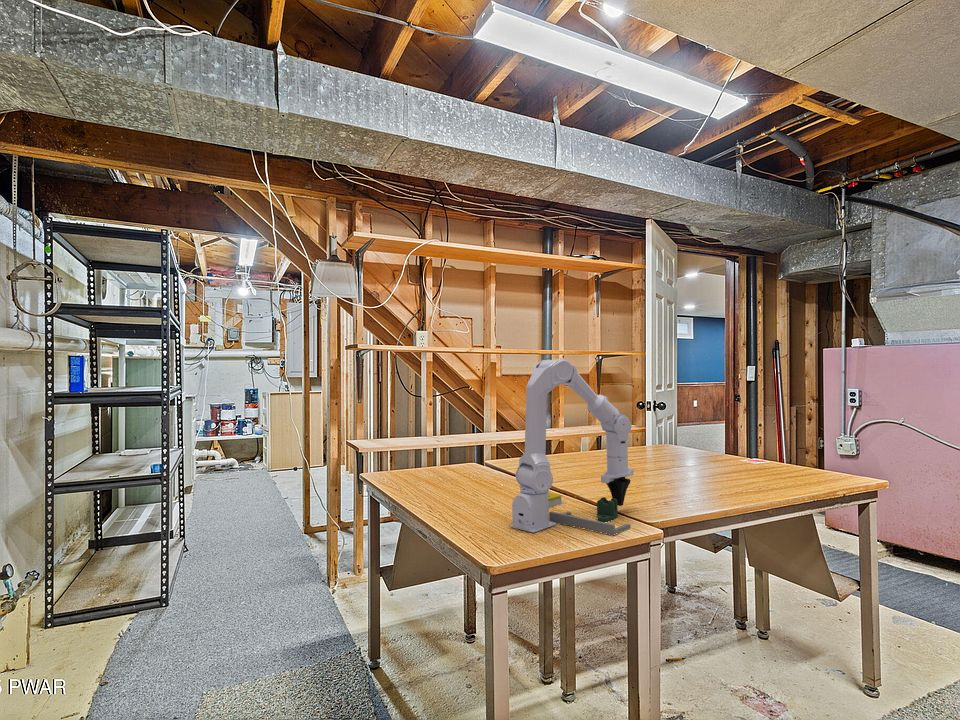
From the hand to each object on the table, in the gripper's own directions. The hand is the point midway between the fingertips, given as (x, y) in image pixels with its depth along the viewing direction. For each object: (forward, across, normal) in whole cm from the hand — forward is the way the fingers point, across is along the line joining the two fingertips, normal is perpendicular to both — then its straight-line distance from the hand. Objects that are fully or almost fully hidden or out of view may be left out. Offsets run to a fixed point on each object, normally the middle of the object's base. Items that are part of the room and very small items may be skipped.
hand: (618, 505), depth 143 cm
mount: (+3, -6, 0) cm, 7 cm away
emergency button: (+3, -7, +23) cm, 24 cm away
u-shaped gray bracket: (+2, -15, 0) cm, 15 cm away
